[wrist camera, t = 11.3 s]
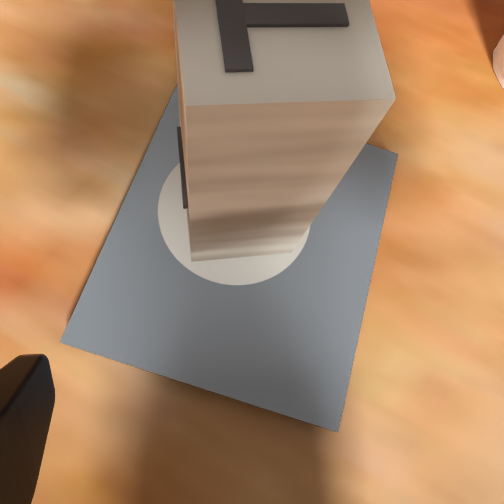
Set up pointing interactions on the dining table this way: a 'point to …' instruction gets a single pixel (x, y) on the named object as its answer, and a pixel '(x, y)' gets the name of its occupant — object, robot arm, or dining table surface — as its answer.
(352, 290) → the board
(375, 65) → the letter block
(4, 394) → the robot arm
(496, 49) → the foam cup
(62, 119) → the dining table surface
